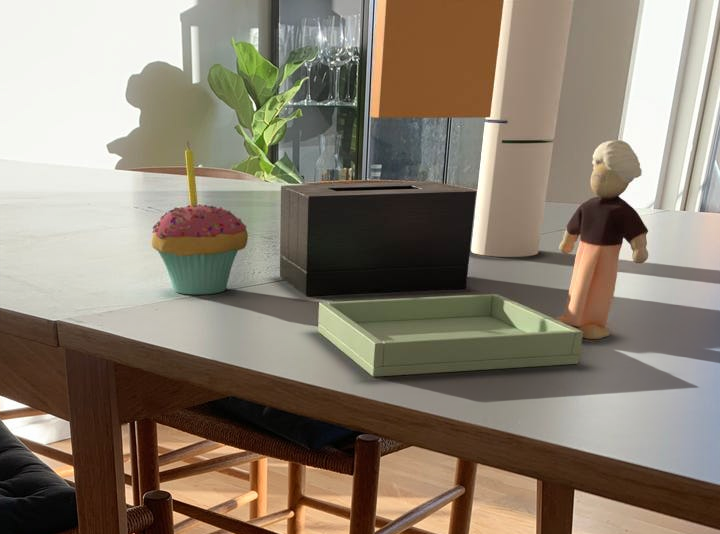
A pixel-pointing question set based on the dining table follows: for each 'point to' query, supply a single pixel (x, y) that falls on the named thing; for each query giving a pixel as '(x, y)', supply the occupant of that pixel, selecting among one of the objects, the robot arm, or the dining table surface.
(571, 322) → the grandmother figurine
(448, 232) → the wooden tissue box
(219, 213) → the cupcake
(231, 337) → the dining table surface
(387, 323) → the tray
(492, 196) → the cylindrical container
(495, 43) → the toast
